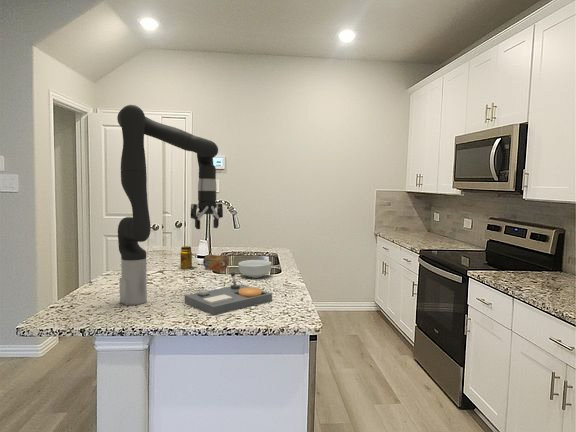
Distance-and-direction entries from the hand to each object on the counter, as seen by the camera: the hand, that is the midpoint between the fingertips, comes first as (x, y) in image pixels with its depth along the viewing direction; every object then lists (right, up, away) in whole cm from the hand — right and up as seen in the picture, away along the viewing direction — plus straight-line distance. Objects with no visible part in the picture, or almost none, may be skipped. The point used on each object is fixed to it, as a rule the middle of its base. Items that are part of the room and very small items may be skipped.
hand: (207, 228), depth 175 cm
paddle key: (+8, -28, -18) cm, 34 cm away
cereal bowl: (+17, -26, +37) cm, 48 cm away
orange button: (+19, -27, -7) cm, 34 cm away
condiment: (-21, -24, +54) cm, 63 cm away
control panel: (+11, -29, -9) cm, 32 cm away
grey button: (+1, -26, -11) cm, 28 cm away
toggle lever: (+12, -24, 0) cm, 27 cm away
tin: (-5, -24, +50) cm, 56 cm away
